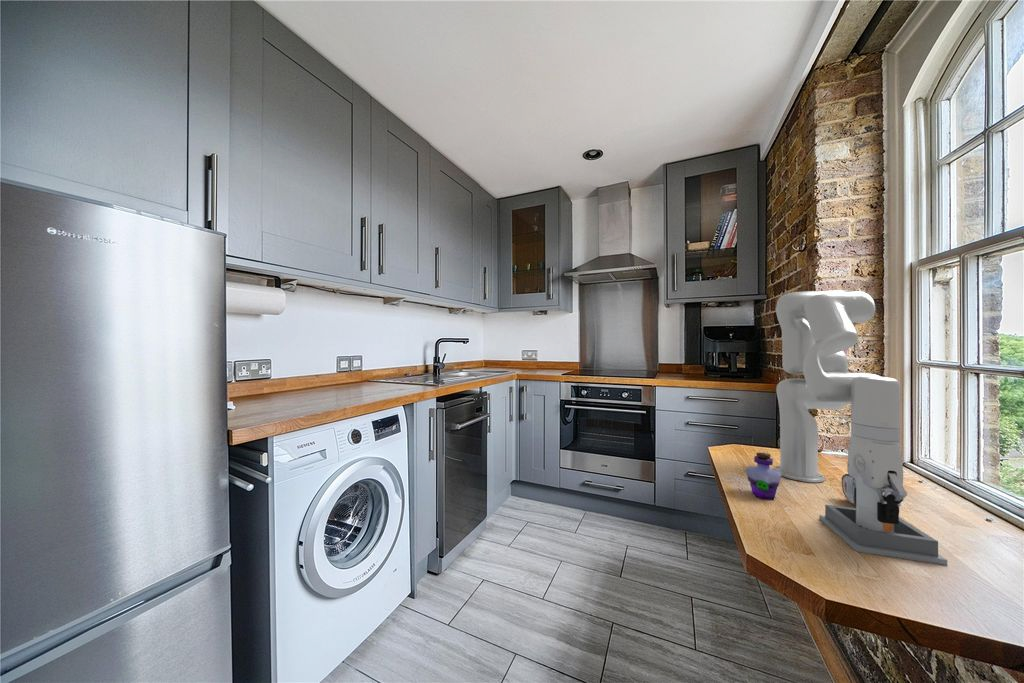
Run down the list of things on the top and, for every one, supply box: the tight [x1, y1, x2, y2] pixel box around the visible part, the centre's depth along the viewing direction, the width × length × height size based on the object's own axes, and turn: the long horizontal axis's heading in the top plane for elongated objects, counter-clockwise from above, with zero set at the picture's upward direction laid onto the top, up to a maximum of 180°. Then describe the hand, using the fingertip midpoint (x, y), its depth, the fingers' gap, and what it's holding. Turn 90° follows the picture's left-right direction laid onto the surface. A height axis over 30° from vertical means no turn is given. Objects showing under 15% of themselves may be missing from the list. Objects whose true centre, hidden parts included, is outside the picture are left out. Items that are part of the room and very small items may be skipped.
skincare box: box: [855, 475, 894, 533], centre depth 76 cm, size 6×4×12 cm
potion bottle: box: [745, 451, 782, 501], centre depth 97 cm, size 9×9×12 cm
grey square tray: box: [818, 504, 948, 566], centre depth 75 cm, size 14×14×4 cm
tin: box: [841, 473, 856, 507], centre depth 89 cm, size 15×3×8 cm, turn 168°
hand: (875, 513), depth 76 cm, fingers closed on skincare box, 6 cm apart
